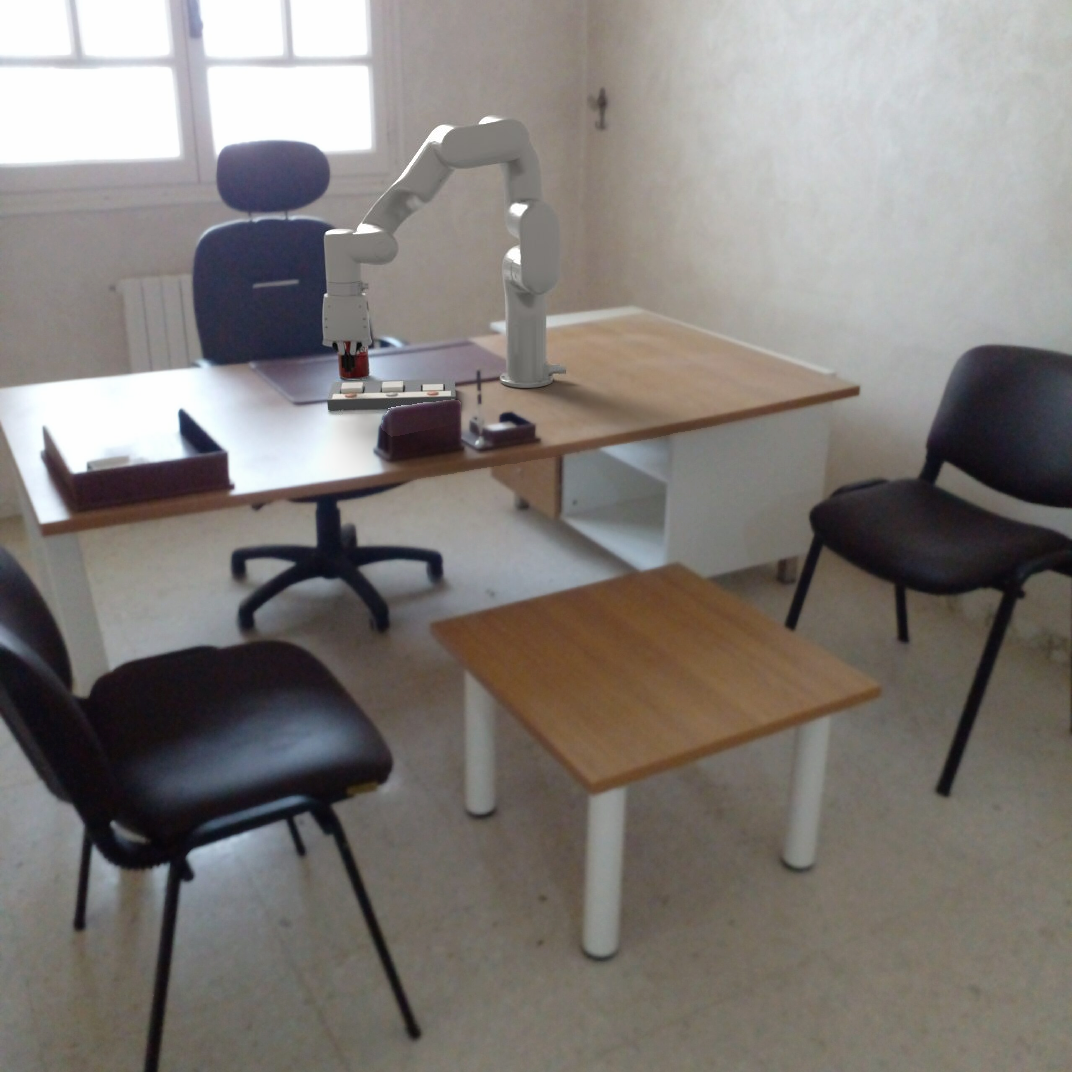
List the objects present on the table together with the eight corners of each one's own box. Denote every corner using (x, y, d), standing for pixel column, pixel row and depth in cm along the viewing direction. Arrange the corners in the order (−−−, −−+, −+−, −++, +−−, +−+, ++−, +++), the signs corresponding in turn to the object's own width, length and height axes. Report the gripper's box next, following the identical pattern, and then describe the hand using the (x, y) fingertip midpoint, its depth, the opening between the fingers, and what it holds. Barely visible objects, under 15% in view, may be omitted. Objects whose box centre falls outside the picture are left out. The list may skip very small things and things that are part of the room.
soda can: (372, 372, 275) (369, 324, 270) (365, 381, 268) (362, 331, 264) (343, 372, 276) (340, 323, 271) (335, 380, 269) (332, 330, 264)
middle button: (403, 387, 256) (403, 381, 255) (402, 393, 252) (402, 386, 251) (383, 387, 256) (382, 381, 255) (382, 393, 251) (381, 387, 251)
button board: (455, 389, 262) (454, 377, 261) (456, 407, 249) (455, 395, 248) (333, 392, 260) (332, 380, 259) (328, 410, 247) (327, 398, 246)
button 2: (443, 389, 257) (443, 383, 256) (443, 395, 253) (443, 389, 252) (423, 390, 257) (422, 384, 256) (422, 396, 252) (422, 390, 252)
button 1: (363, 388, 255) (363, 382, 255) (362, 394, 251) (361, 388, 251) (343, 388, 255) (342, 382, 254) (341, 394, 251) (340, 388, 250)
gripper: (380, 285, 248) (383, 366, 255) (311, 285, 246) (316, 367, 254) (378, 292, 241) (381, 375, 248) (307, 292, 240) (313, 376, 247)
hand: (348, 371), depth 251 cm, fingers closed
